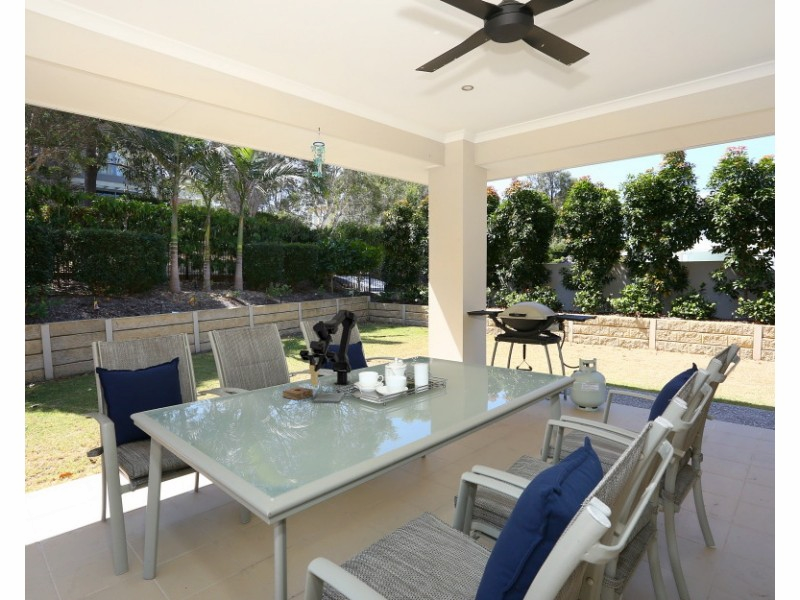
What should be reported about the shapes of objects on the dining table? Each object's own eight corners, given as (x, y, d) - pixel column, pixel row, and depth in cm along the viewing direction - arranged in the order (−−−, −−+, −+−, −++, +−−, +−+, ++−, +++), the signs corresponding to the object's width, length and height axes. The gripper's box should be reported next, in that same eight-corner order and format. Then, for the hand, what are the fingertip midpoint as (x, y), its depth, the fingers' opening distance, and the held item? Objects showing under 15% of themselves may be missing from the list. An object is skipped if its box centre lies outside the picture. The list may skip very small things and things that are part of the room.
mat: (320, 395, 225) (320, 393, 225) (344, 395, 224) (344, 393, 224) (313, 402, 213) (313, 400, 213) (339, 403, 212) (339, 400, 212)
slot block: (298, 392, 230) (298, 386, 230) (312, 395, 224) (312, 389, 224) (283, 396, 222) (282, 390, 222) (297, 400, 216) (297, 394, 216)
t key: (314, 383, 222) (314, 363, 221) (319, 384, 221) (319, 363, 220) (309, 386, 217) (309, 365, 216) (314, 386, 216) (314, 365, 215)
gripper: (300, 333, 224) (288, 360, 214) (335, 335, 218) (325, 362, 209) (308, 346, 232) (297, 373, 222) (342, 348, 226) (333, 376, 217)
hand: (312, 371), depth 217 cm, fingers closed on t key, 2 cm apart
